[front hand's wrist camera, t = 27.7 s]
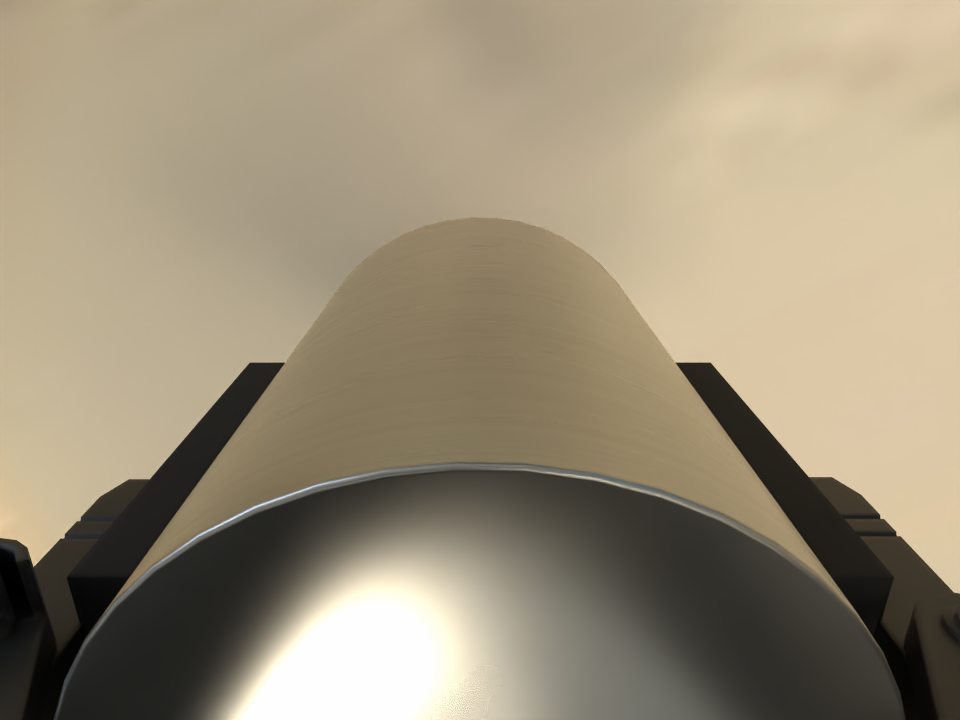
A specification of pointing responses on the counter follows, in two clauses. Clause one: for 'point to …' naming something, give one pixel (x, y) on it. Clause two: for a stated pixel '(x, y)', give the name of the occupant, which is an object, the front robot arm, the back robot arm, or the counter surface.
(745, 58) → the counter surface
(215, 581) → the canister
